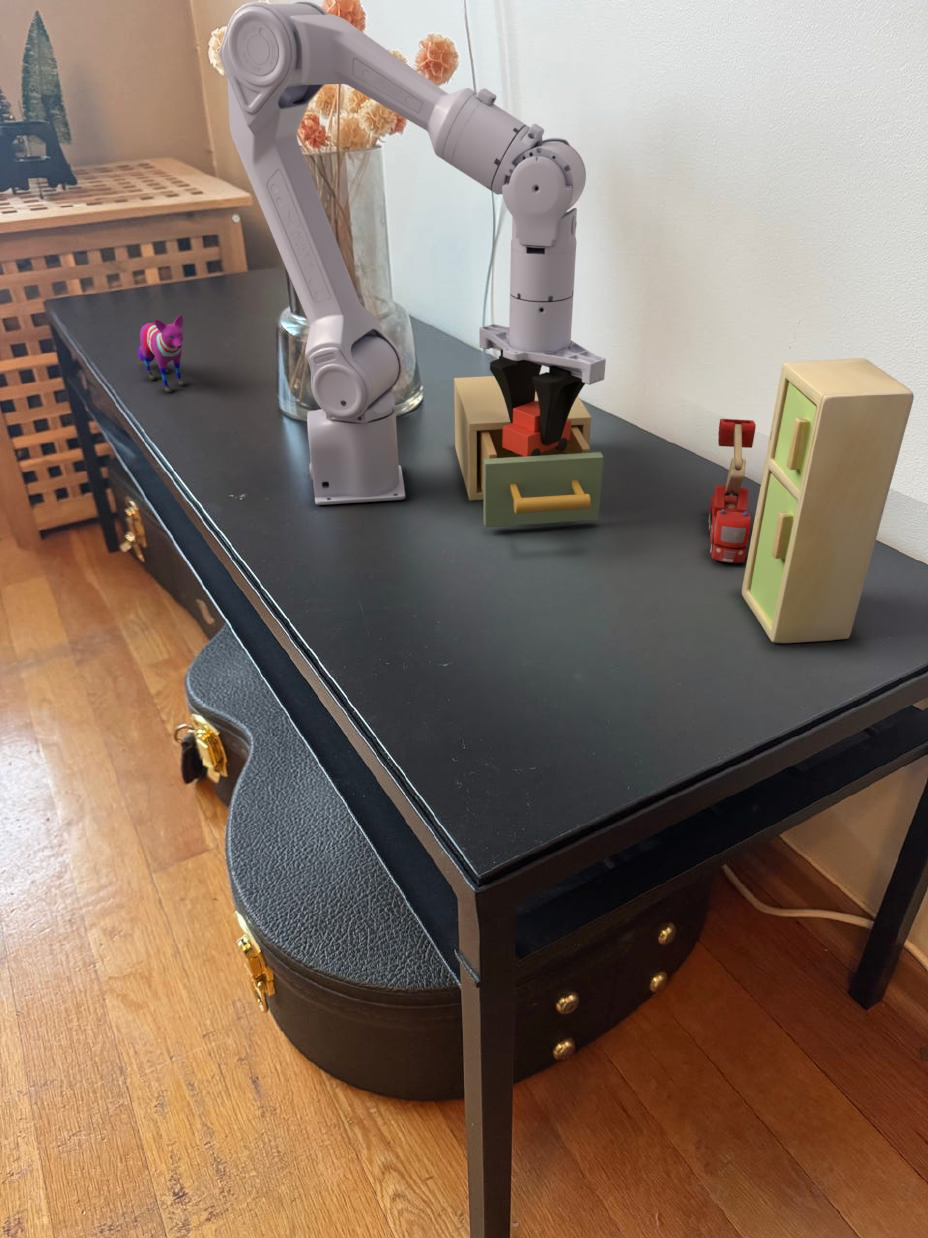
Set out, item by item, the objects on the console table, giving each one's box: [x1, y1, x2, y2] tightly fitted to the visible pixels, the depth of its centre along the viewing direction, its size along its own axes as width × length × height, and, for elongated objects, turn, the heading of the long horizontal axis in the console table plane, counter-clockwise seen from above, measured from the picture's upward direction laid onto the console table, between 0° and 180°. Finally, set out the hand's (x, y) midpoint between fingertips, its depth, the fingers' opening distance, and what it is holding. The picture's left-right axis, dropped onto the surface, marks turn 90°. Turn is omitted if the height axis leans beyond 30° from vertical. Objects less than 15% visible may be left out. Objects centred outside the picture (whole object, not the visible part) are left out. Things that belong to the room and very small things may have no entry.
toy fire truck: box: [707, 418, 757, 564], centre depth 87 cm, size 3×14×10 cm, turn 168°
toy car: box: [503, 401, 571, 457], centre depth 89 cm, size 6×4×4 cm, turn 132°
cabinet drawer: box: [477, 425, 604, 528], centre depth 91 cm, size 17×11×7 cm, turn 7°
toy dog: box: [137, 314, 186, 393], centre depth 124 cm, size 4×18×10 cm, turn 36°
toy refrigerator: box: [741, 357, 915, 644], centre depth 71 cm, size 8×7×21 cm
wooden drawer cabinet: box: [453, 375, 592, 501], centre depth 99 cm, size 14×13×9 cm
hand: (536, 435), depth 89 cm, fingers closed on toy car, 3 cm apart
